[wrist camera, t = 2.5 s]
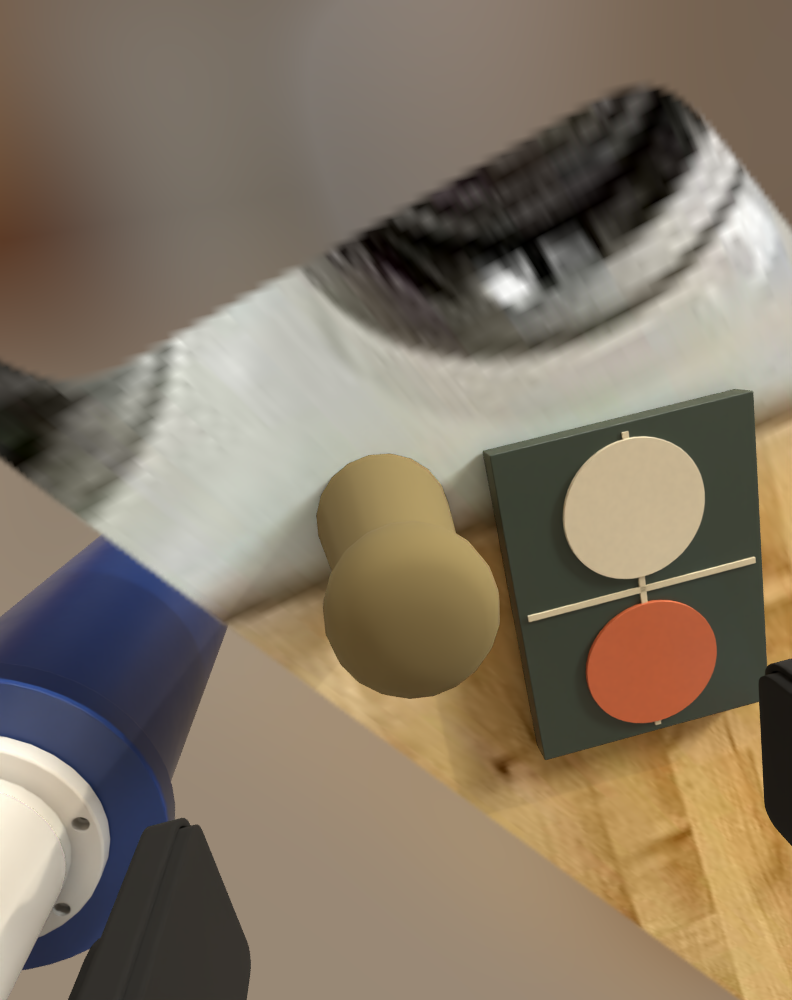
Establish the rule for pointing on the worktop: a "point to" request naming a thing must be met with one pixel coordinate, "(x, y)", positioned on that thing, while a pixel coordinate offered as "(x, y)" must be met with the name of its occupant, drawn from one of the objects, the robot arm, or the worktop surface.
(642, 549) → the board
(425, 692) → the cork
